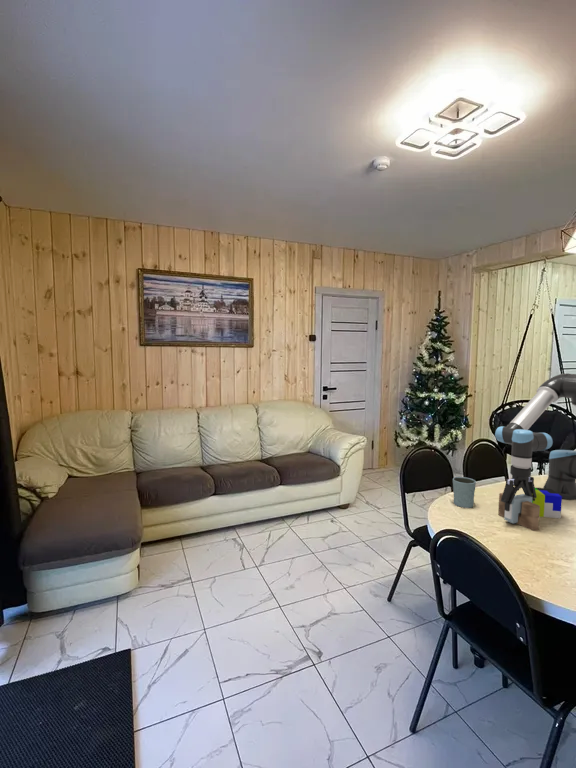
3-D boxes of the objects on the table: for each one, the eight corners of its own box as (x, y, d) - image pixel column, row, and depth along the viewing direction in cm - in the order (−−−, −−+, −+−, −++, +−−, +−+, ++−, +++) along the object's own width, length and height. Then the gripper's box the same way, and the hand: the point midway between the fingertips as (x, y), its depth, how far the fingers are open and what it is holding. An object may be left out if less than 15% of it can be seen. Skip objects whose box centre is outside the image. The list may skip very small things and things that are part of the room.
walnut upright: (498, 515, 170) (499, 493, 169) (503, 513, 171) (505, 492, 170) (532, 530, 155) (533, 506, 154) (538, 529, 156) (539, 505, 155)
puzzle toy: (560, 518, 167) (562, 496, 166) (535, 516, 169) (536, 494, 168) (549, 509, 177) (551, 488, 176) (526, 507, 179) (527, 487, 178)
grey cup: (467, 510, 175) (468, 484, 174) (447, 503, 183) (448, 478, 182) (478, 505, 181) (480, 480, 180) (458, 498, 189) (459, 475, 188)
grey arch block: (522, 516, 166) (523, 493, 166) (531, 519, 163) (532, 497, 162) (504, 519, 163) (505, 497, 162) (512, 523, 159) (514, 500, 158)
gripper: (531, 461, 169) (528, 509, 170) (492, 466, 160) (490, 516, 162) (548, 466, 162) (545, 515, 163) (508, 471, 153) (505, 523, 155)
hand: (517, 516), depth 163 cm, fingers closed on grey arch block, 11 cm apart
